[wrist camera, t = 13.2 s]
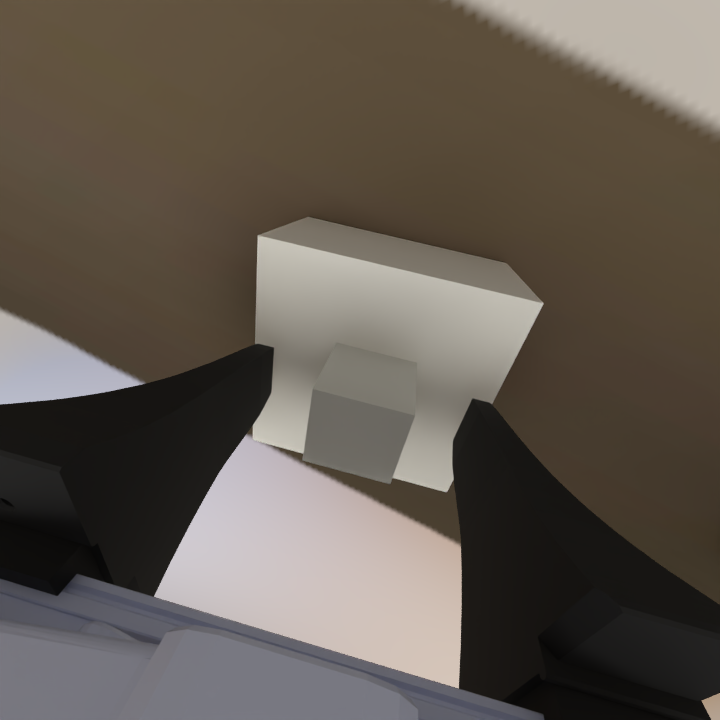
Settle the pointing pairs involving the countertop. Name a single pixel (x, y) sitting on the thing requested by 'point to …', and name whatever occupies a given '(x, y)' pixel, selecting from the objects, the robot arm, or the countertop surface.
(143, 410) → the robot arm
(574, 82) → the countertop surface
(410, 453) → the grey knobbed block
